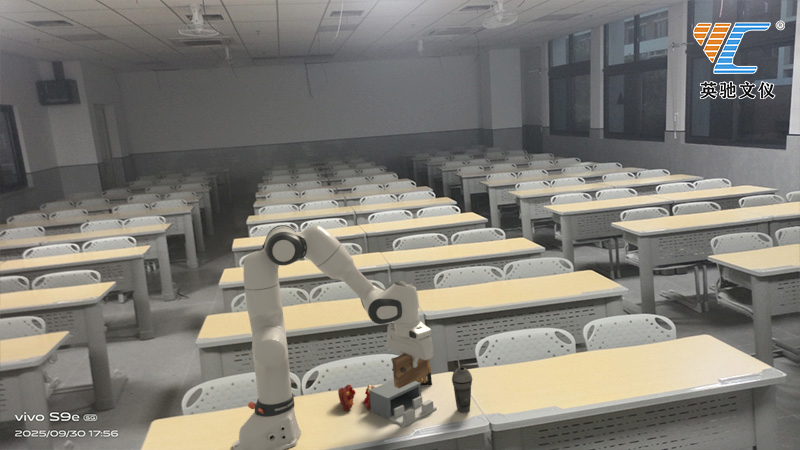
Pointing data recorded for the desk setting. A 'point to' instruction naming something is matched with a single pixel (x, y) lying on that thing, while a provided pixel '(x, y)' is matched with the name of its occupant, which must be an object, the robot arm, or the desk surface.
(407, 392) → the cabinet
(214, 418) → the desk surface
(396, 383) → the door
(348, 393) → the teeth
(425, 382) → the ammunition clip
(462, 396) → the beverage cup
